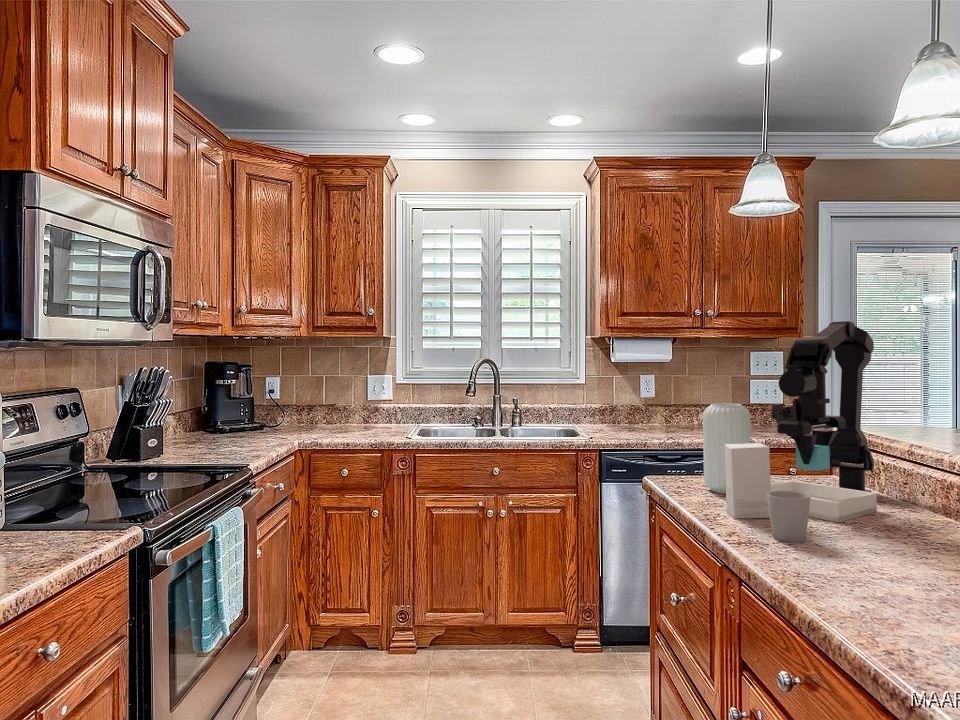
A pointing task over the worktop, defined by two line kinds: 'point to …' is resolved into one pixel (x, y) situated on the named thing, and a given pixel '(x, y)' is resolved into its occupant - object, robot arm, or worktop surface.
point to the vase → (722, 439)
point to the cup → (789, 515)
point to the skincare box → (747, 480)
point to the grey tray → (832, 500)
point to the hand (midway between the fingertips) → (812, 462)
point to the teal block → (815, 459)
